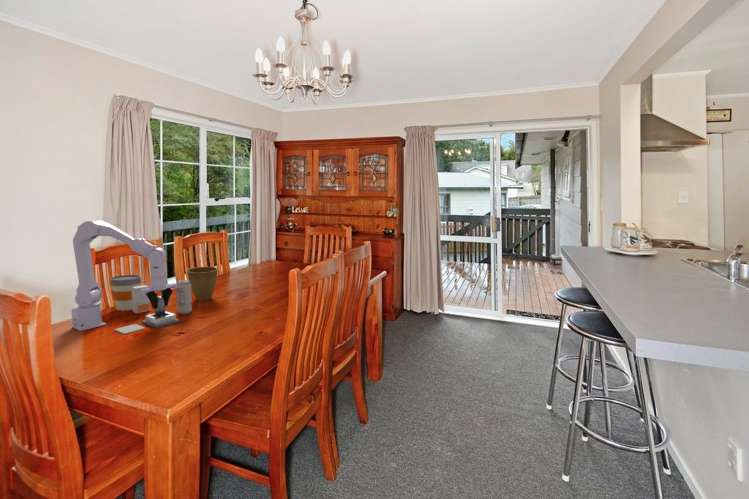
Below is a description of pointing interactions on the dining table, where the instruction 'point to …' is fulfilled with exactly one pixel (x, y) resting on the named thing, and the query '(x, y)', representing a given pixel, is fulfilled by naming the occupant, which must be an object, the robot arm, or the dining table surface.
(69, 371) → the dining table surface
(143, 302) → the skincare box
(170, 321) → the socket block
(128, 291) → the reusable coffee cup
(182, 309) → the energy drink can
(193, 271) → the plant pot
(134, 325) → the mat
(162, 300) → the key peg
